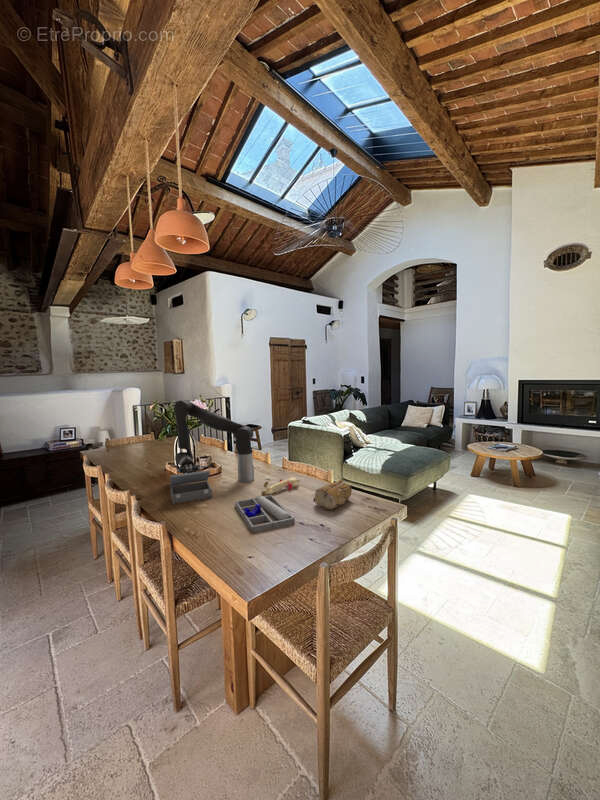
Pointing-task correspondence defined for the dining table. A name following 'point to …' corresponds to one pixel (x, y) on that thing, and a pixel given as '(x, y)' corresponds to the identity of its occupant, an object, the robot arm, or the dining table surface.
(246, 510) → the cable holder
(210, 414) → the robot arm
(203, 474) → the cover
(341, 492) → the petrified wood
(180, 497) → the dark grey box
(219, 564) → the dining table surface
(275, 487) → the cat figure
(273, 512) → the tube
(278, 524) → the desk organiser
